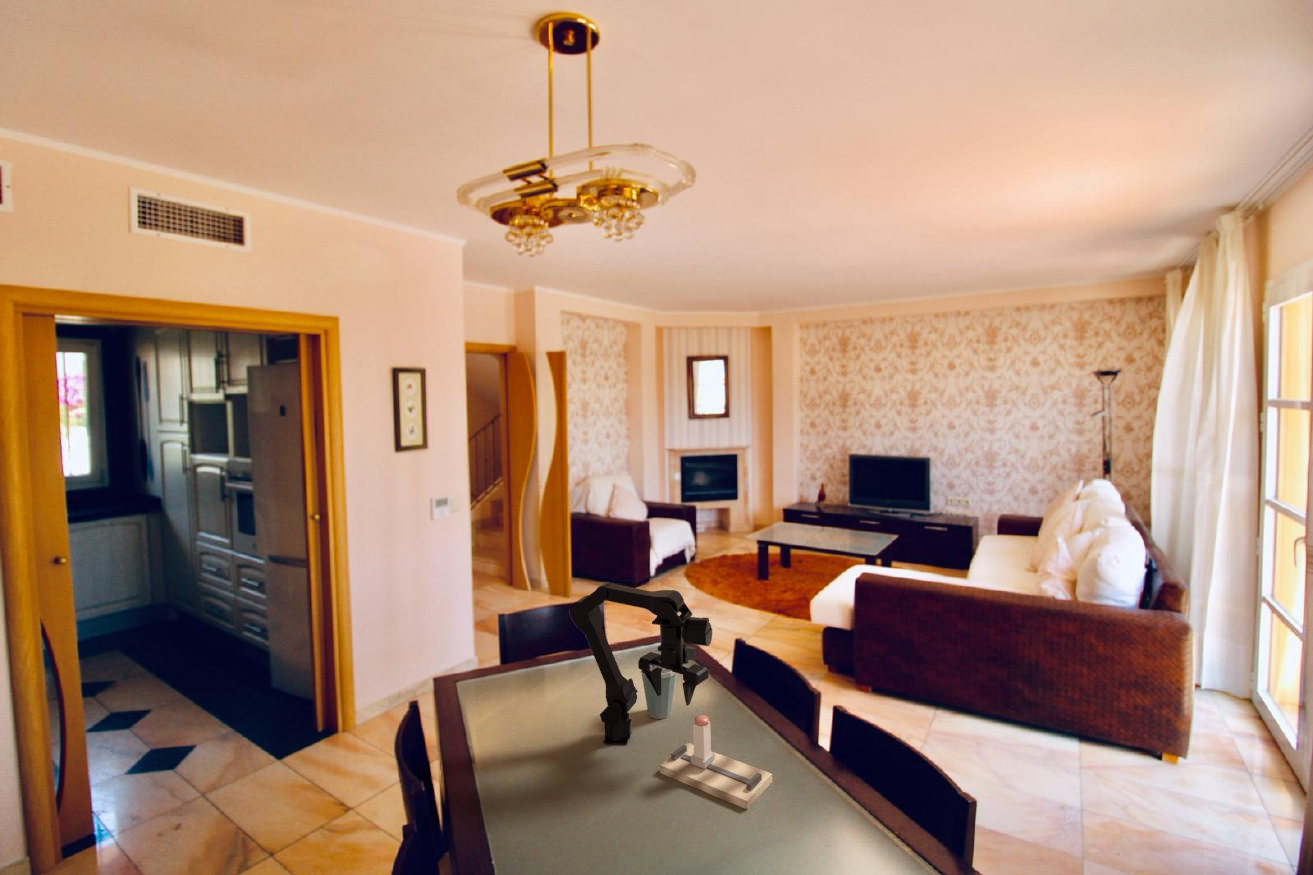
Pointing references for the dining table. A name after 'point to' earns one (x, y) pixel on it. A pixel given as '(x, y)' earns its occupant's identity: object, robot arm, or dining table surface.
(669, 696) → the disposable coffee cup
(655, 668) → the robot arm
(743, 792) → the slider console
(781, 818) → the dining table surface
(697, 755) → the slider lever
